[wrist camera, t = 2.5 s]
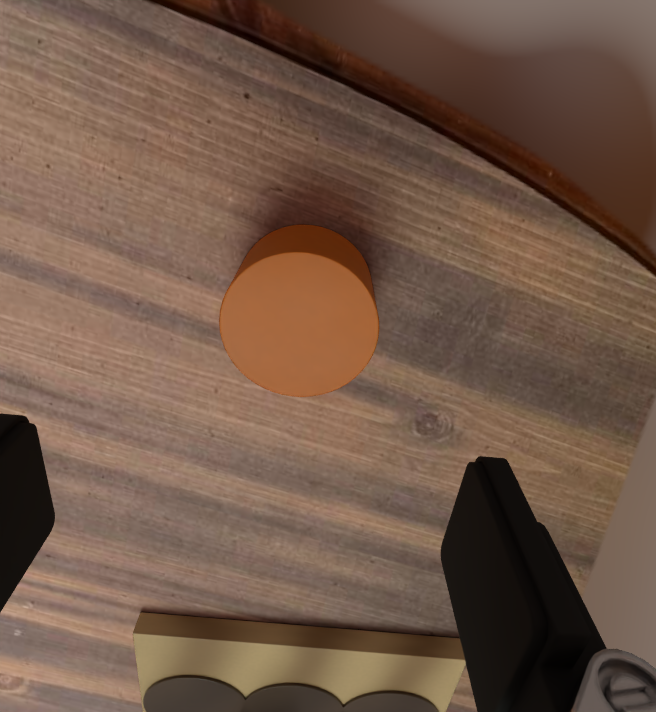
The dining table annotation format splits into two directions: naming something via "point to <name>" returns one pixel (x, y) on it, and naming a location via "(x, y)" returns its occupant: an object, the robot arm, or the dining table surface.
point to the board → (289, 667)
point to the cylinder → (301, 312)
